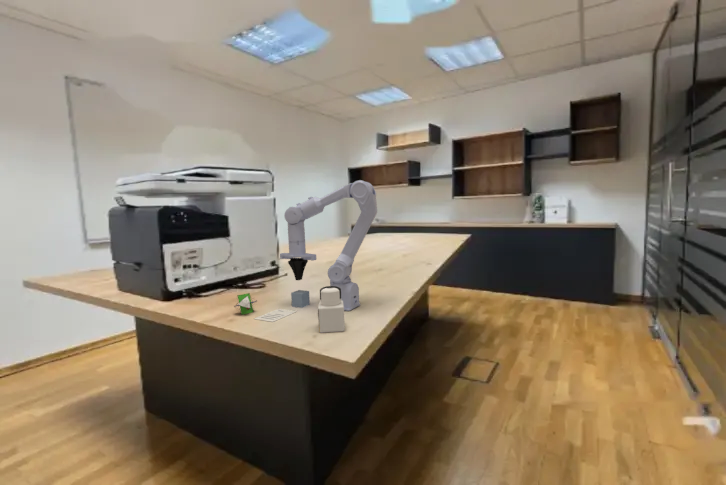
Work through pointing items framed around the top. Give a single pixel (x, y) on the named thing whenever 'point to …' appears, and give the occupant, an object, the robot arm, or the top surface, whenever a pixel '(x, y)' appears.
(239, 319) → the top surface
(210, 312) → the top surface
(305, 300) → the slate cube
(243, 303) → the geometric puzzle
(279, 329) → the top surface
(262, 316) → the letter
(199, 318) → the top surface
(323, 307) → the medicine bottle
